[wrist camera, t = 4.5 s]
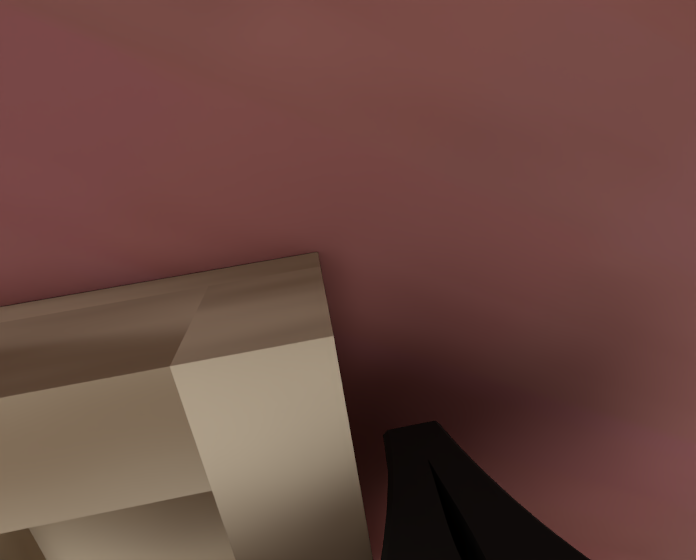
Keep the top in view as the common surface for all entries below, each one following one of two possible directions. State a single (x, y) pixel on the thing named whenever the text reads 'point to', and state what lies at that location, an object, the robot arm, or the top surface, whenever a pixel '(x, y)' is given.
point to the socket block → (179, 422)
